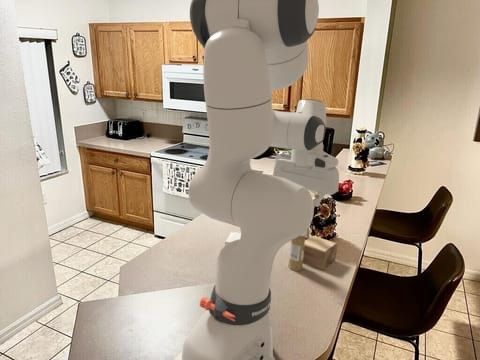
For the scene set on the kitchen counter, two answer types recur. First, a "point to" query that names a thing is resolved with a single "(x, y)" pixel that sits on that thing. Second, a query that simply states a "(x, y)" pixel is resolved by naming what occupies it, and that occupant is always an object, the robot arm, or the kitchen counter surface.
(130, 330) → the kitchen counter surface
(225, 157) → the robot arm
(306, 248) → the tan cardboard box
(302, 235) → the sprinkles bottle
